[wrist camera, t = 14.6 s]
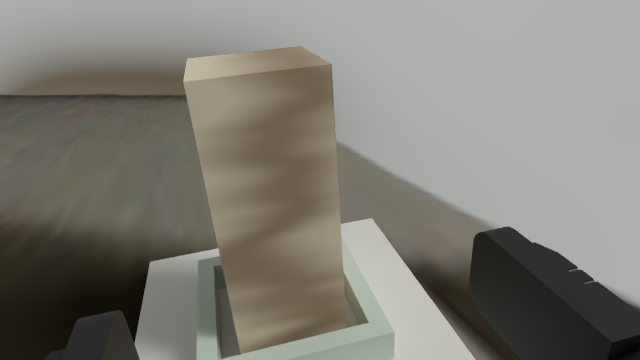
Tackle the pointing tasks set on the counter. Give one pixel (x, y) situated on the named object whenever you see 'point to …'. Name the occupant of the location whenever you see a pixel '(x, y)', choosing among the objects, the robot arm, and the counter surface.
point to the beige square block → (272, 189)
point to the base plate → (310, 353)
